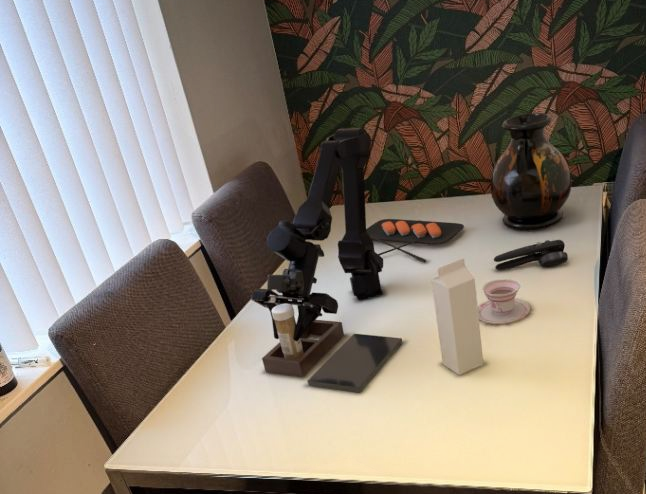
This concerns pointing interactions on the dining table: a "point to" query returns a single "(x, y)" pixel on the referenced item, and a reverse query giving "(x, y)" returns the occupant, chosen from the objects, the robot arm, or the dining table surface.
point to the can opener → (534, 255)
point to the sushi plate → (413, 233)
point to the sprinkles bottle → (287, 331)
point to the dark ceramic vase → (530, 176)
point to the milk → (457, 317)
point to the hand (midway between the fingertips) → (285, 339)
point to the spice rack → (305, 350)
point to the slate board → (355, 362)
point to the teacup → (502, 303)
